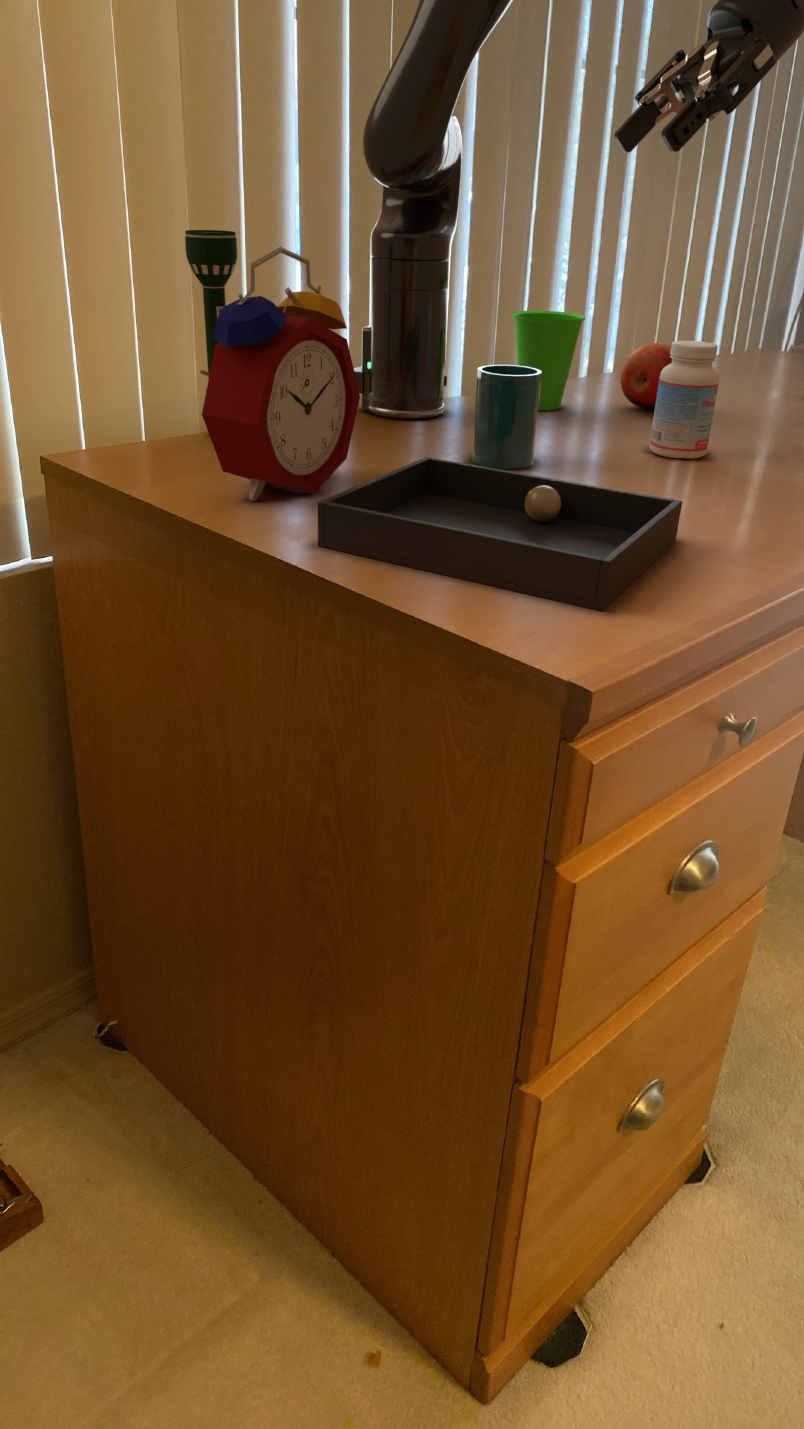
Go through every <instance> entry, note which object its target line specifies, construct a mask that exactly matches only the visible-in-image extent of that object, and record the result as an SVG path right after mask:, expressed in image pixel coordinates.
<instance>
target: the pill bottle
mask: <svg viewBox="0 0 804 1429" xmlns="http://www.w3.org/2000/svg"><path fill="white" fill-rule="evenodd" d="M671 345H672V347H671V352H670V354H671V356H670V357H671V358H672V363H671V364H669V365H667V366H666V367H664V368H663V370H662V371H661V374H660V379H659V386H658V392H657V399H656V405H655V408H654V412H653V419H652V424H651V425H652V426H651V431H650V440H649V446H648V447H649V450H650V451H651V452H652V453H653V454H656V455H658V456H661V457H665V458H670V459H671V458H672V459H673V458H674V459H686V460H687V459H689V460H690V459H691V460H692V459H699V458H702V457H704V456H705V455H707V451H708V447H709V442H710V435H711V429H712V424H713V418H714V413H715V407H716V402H717V396H718V389H719V385H720V374H719V371H718V370H717V369H716V368H715V367H714V366H713V362H715V361H716V358H717V356H718V355H717V354H718V347H719V346H718V344H717V343H713V342H707V341H699V340H697V341H696V340H675V341H672V343H671Z"/></svg>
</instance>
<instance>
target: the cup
mask: <svg viewBox="0 0 804 1429" xmlns="http://www.w3.org/2000/svg"><path fill="white" fill-rule="evenodd" d="M511 317H513V318H514V328H515V344H516V345H515V346H516V361H517V362H516V363H517V366H525V367H531V368H536V369H538V370H540V371H542V375H541V385H540V396H539V406H538V411H556V410H558V409H559V407H560V405H561V404H562V401H563V397H564V394H565V389H566V385H567V382H568V378H569V374H570V370H571V366H572V364H573V363H572V362H573V358H574V354H575V351H576V346H577V343H578V339H579V336H580V331H581V328H582V325H583V324H582V323H583V321H585V320H586V317H585V316H584V315H583V314H579V313H573V312H566V311H555V310H518V311H514V312H512V314H511Z"/></svg>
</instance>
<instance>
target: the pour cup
mask: <svg viewBox="0 0 804 1429" xmlns="http://www.w3.org/2000/svg"><path fill="white" fill-rule="evenodd" d="M541 375H542V371H540V370H538V369H536V368H531V367H525V366H518V365H517V364H516V365H515V364H514V365H512V364H489V365H483V366H479V367H477V369H476V386H475V387H476V389H475V402H474V403H475V405H474V420H473V434H472V435H473V436H472V451H471V461H472V463H473V464H474V465H476V466H482V467H488V468H494V469H500V470H522V469H526V468H530V467H532V466H533V464H534V458H535V457H534V456H535V446H536V438H537V437H536V436H537V427H538V426H537V425H538V417H539V416H538V415H539V410H538V406H539V396H540V385H541Z"/></svg>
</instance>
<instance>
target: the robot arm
mask: <svg viewBox="0 0 804 1429" xmlns="http://www.w3.org/2000/svg"><path fill="white" fill-rule="evenodd" d="M513 1H514V0H418V3H417V7H416V9H415V11H414V12H415V13H414V15H413V17H412V21H411V22H410V26H409V27H408V30H407V32H406V35H405V37H404V40H403V42H402V44H401V46H400V48H399V51H398V52H397V55H396V56H395V58H394V60H393V62H392V65H391V67H390V68H389V70H388V73H387V75H386V77H385V79H384V81H383V83H382V85H381V87H380V89H379V91H378V93H377V95H376V98H375V100H374V101H373V103H372V105H371V108H370V110H369V112H368V115H367V118H366V121H365V124H364V128H363V133H362V152H363V158H364V162H365V165H366V167H367V169H368V172H369V173H370V174H371V176H372V177H373V178H374V179H375V181H377V183H379V184H380V185H382V194H381V207H380V212H379V215H378V219H377V222H376V223H375V225H374V227H373V228H372V231H371V234H370V242H369V243H370V247H369V250H370V251H369V252H370V253H369V256H370V257H369V259H370V260H369V268H370V269H369V321H368V322H369V323H368V324H369V325H368V326H364V327H363V328H362V331H361V366H357V367H353V368H354V373H355V377H356V381H357V386H358V390H359V394H361V399H360V400H361V403H360V404H361V405H360V406H361V411H365V412H369V413H371V414H373V415H376V416H381V417H385V418H392V419H410V420H411V419H426V418H427V419H428V418H435V417H437V416H440V415H442V414H443V413H445V412H444V410H445V404H444V399H445V387H447V386H448V385H447V383H448V376H447V375H445V374H446V357H447V354H446V353H447V335H448V319H449V318H448V317H449V315H448V314H449V296H450V276H451V275H450V273H451V257H452V256H451V255H452V254H451V253H452V244H453V239H454V236H455V233H456V229H457V225H458V217H459V206H460V194H461V182H462V167H463V166H462V165H463V137H462V131H461V126H460V123H459V120H458V119H457V117H456V115H455V113H454V110H455V107H456V105H457V102H458V98H459V96H460V93H461V90H462V87H463V85H464V82H465V81H466V77H467V75H468V72H469V70H470V68H471V66H472V64H473V62H474V60H475V58H476V56H477V55H478V53H479V51H480V50H481V48H482V46H483V45H484V44H485V42H486V40H487V39H488V38H489V36H490V35H491V33H492V32H493V31H494V29H495V27H496V26H497V25H498V23H499V22H500V20H501V19H502V18H503V17H504V15H505V14H506V12H507V11H508V9H509V8H510V6H511V5H512V3H513ZM706 23H707V25H706V26H707V38H706V41H705V42H704V43H700V44H697V46H695V47H693V49H691V50H690V51H689V52H687V53H686V51H685V49H680V50H678V51H676V52H675V53H674V54H673V56H672V57H671V58H670V59H668V61H667V62H666V63H665V64H664V65H663V66H662V67H661V69H659V71H658V72H656V73H655V75H654V76H653V77H652V78H651V79H649V81H648V82H647V83H646V84H645V85H644V86H643V87H642V88H641V89H640V90H639V91H638V92H637V93H636V95H635V96H634V101H635V102H636V103H637V105H638V107H637V108H636V109H635V110H634V111H633V112H632V114H631V115H630V116H629V117H628V118H626V120H625V121H624V122H623V123H622V125H620V126H619V128H618V129H617V130H616V131H615V132H614V136H613V137H614V141H615V142H616V144H617V146H618V147H619V149H620V151H621V152H622V153H624V154H625V153H631V152H633V150H634V149H635V148H636V147H637V146H638V144H640V143H641V142H642V140H644V139H645V137H646V136H647V135H648V134H649V133H650V132H651V131H652V130H653V129H654V128H655V126H656V125H657V124H658V123H660V122H661V121H662V120H664V119H665V118H666V117H668V116H669V115H671V114H672V113H675V116H674V117H673V118H672V119H671V120H670V121H669V122H668V123H667V124H666V125H665V126H664V127H663V128H662V130H661V133H660V137H661V139H662V141H663V142H664V144H665V146H666V148H667V149H668V151H669V152H671V153H675V152H680V151H681V149H682V148H683V147H684V146H685V145H686V144H687V143H688V142H689V141H690V140H691V139H692V138H693V137H694V135H695V134H696V133H697V132H698V131H699V130H700V129H701V128H702V127H704V125H705V124H706V123H707V121H708V122H711V121H713V120H715V119H716V118H717V117H718V116H719V115H720V114H721V112H723V114H724V115H725V116H726V115H729V114H731V113H732V112H734V111H735V110H736V109H737V108H738V107H739V106H740V105H741V103H743V101H744V100H745V99H746V98H747V97H748V96H749V94H750V93H751V92H752V91H753V90H754V89H755V88H756V87H757V85H758V84H759V83H760V82H761V81H762V80H763V79H764V77H765V76H766V75H767V74H768V73H769V72H770V71H771V70H772V69H773V68H774V67H775V65H776V64H777V63H778V61H780V59H781V58H782V57H783V56H784V55H785V54H786V53H787V52H788V51H789V50H790V49H791V48H792V46H793V45H794V44H795V43H797V41H798V40H799V39H800V38H801V37H802V36H803V35H804V0H717V1H716V2H715V3H714V4H713V5H712V7H711V8H710V10H709V13H708V16H707V22H706ZM737 87H738V88H737ZM736 88H737V91H735V93H734V90H735V89H736ZM679 92H681V93H682V95H683V97H682V96H680V94H679ZM733 93H734V94H733ZM659 97H660V98H659ZM657 98H659V99H658V100H657V101H655V100H656V99H657Z"/></svg>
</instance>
